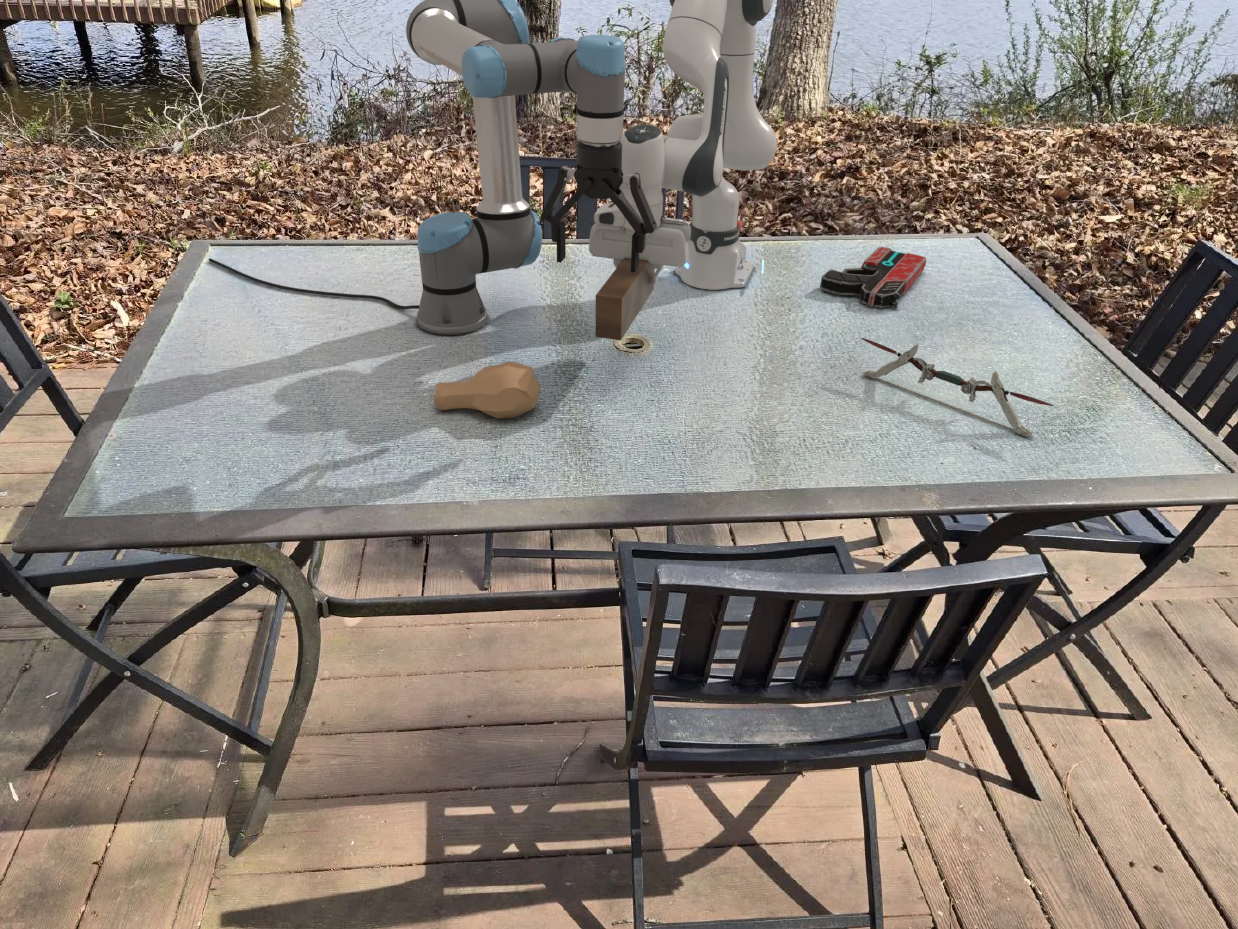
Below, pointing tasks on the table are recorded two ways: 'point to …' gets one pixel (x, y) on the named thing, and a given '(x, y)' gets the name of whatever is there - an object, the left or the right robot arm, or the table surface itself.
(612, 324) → the bar
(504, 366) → the squash
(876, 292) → the gun
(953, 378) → the bow
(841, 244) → the table surface
